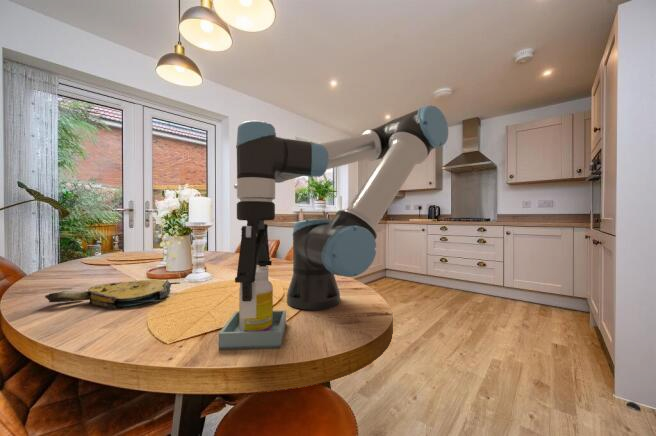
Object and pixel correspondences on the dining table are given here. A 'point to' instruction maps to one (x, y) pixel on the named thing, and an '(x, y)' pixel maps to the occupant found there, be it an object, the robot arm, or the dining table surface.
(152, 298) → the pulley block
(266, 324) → the supplement bottle
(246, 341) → the tray
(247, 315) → the robot arm
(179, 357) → the dining table surface
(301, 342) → the dining table surface
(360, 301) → the dining table surface
